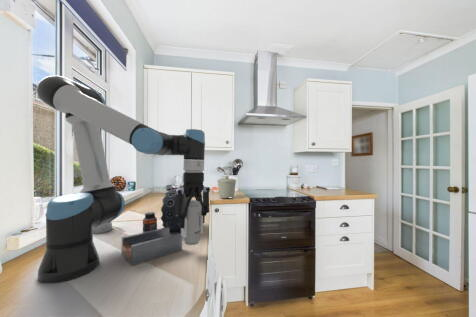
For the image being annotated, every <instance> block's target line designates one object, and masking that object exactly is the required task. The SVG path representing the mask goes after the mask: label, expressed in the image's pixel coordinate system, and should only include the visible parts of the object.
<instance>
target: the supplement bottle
mask: <svg viewBox="0 0 476 317" xmlns="http://www.w3.org/2000/svg"><path fill="white" fill-rule="evenodd" d="M155 214H156V213H155V212H154V211H152V212H151V211H149V212H145V213H144V218H143V219H142V233H143V232H148V231H152V230H157V229H158V218H157V217H156V215H155Z"/></svg>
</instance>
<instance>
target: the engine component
mask: <svg viewBox="0 0 476 317" xmlns="http://www.w3.org/2000/svg"><path fill="white" fill-rule="evenodd" d="M112 229H113V220H112V221H111V222H108V223H104V224H102V225H100V226H97V227H95V228H93V234H102V233H106V232H108V230H109V231H112ZM101 232H102V233H101Z"/></svg>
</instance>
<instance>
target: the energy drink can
mask: <svg viewBox="0 0 476 317" xmlns="http://www.w3.org/2000/svg"><path fill="white" fill-rule="evenodd" d="M201 210H202V206H201V204H200V202H199V201H196V199H195V200H194V199H191V201H190V204H189V207H188V211H187V214H186V217H185V218H186V219H187V238H184V237H183V242H184V244H185V245H188V246H194V245H198V244H199V243H200V241H201Z"/></svg>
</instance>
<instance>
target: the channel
mask: <svg viewBox="0 0 476 317" xmlns="http://www.w3.org/2000/svg"><path fill="white" fill-rule="evenodd" d="M182 250H183V237H182V236H181V232H178V233H173V234H170V230H169V227H165V228H164V227H161V228H157V230H152V231H148V232H143V231H142V232H139V233H135V234H130V235H126V236H123V237H122V236H121V255H122V257H124V258H125V260H127V262H128V263H129V264H130V265H131V266H136V265H138V264H142V263H145V262H148V261H151V260H154V259H158V258H160V257H163V256H167V255H169V254H174V253H177V252H178V251H182Z"/></svg>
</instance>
